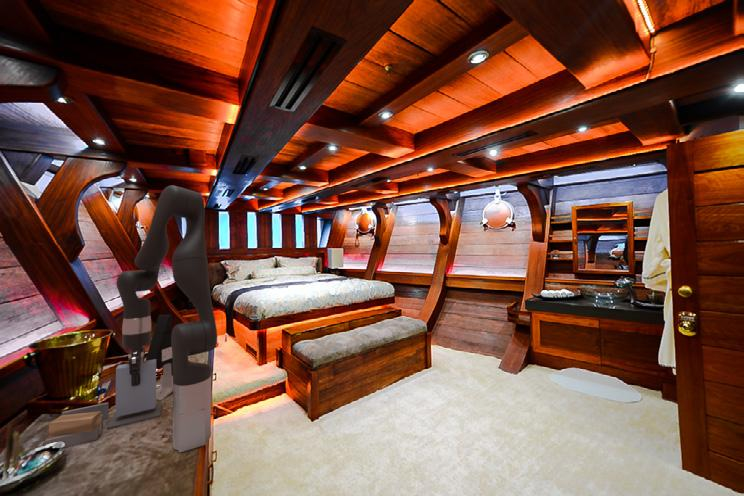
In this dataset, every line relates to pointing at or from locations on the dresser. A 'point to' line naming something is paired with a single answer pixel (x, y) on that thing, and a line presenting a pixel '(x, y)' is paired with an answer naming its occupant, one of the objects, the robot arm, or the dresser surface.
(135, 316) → the robot arm
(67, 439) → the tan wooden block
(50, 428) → the offcut upper
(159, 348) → the award
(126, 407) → the sheet
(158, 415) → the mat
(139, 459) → the dresser surface
